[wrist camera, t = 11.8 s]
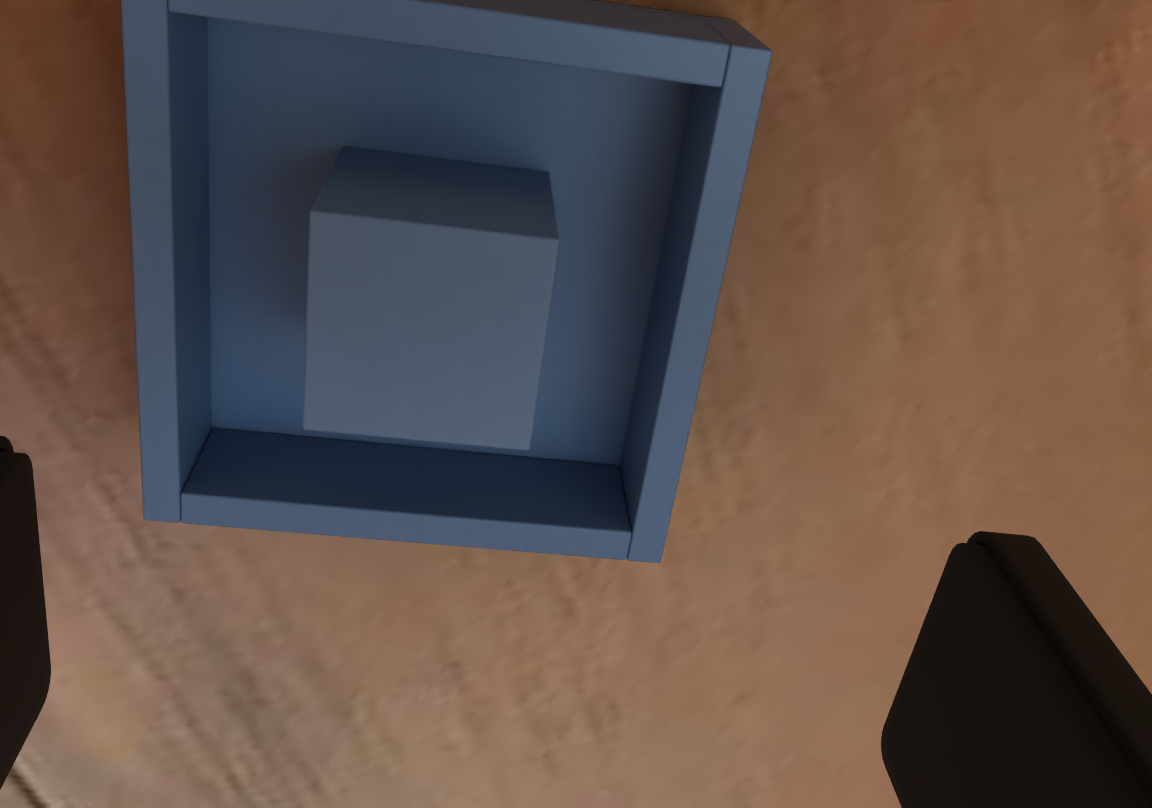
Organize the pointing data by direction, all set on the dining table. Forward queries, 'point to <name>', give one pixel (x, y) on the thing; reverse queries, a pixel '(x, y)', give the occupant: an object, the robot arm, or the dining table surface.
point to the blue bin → (449, 131)
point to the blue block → (428, 299)
